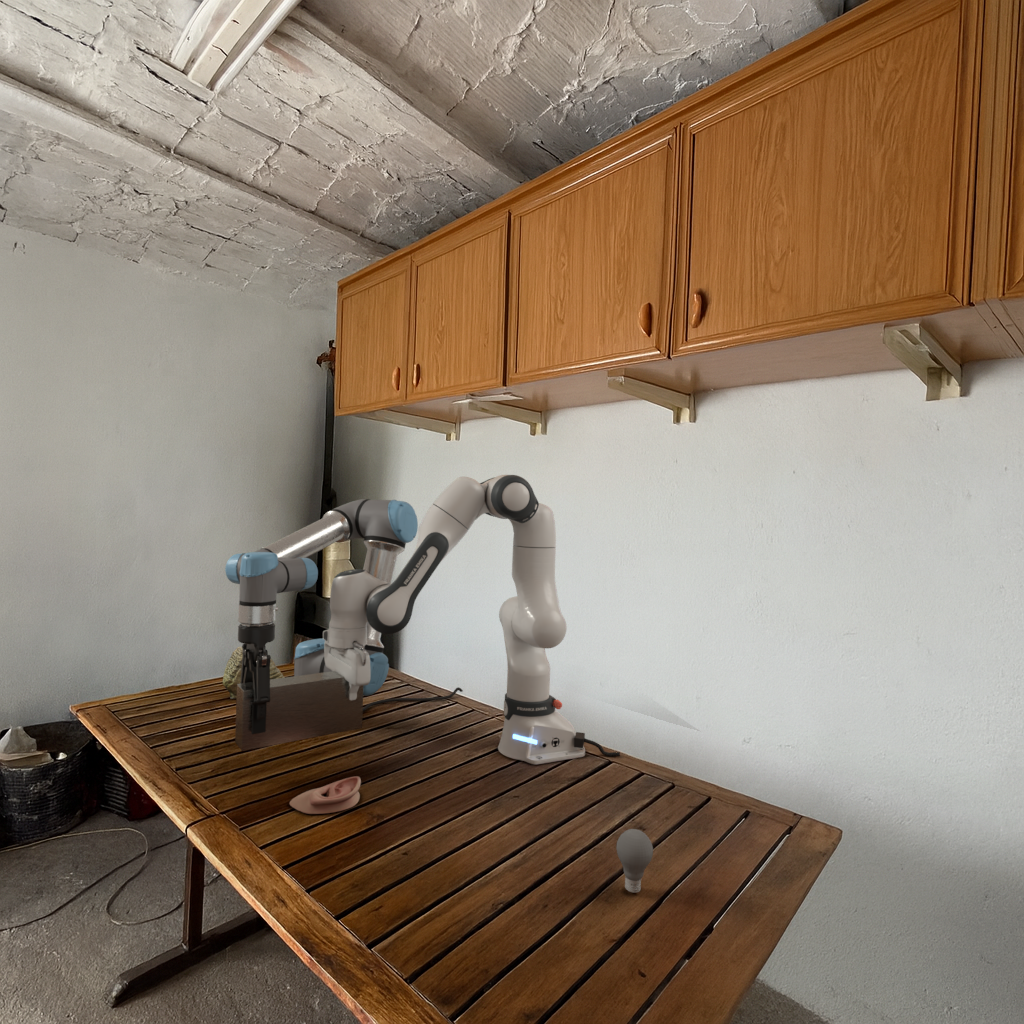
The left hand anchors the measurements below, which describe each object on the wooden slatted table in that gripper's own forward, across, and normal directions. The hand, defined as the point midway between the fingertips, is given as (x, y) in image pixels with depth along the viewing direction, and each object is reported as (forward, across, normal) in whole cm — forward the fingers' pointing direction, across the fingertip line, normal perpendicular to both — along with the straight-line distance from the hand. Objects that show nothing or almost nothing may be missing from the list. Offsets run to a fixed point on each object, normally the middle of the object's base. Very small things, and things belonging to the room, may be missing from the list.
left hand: (253, 726), depth 139 cm
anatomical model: (+12, -17, -10) cm, 24 cm away
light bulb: (+12, -73, -43) cm, 85 cm away
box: (+4, 0, -11) cm, 11 cm away
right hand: (-4, 0, -21) cm, 21 cm away
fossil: (+12, +61, -16) cm, 64 cm away
